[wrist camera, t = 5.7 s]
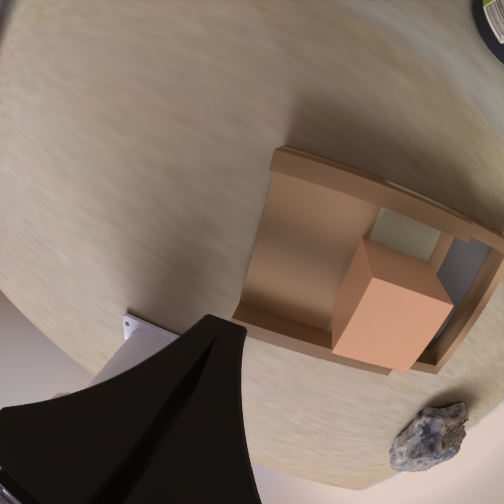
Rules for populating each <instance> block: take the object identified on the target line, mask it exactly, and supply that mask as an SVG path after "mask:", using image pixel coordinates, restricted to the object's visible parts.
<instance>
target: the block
mask: <svg viewBox="0 0 504 504" xmlns="http://www.w3.org/2000/svg"><path fill="white" fill-rule="evenodd" d="M453 306H454V305H453V303H452V301H451V300H450V298H449V296H448V294H447V293H446V291H445V289H444V287H443V286H442V284H441V282H440V281H439V279H438V277H437V276H436V274H435V272H434V271H433V269H432V268H431V266H430V264H429V263H428V262H426V261H423V260H421V259H418V258H416V257H413V256H410V255H408V254H405V253H403V252H400V251H398V250H395V249H392V248H390V247H387V246H384V245H382V244H379V243H376V242H374V241H371V240H368V239H365V238H363V237H362V238H361V240H360V243H359V245H358V247H357V250H356V252H355V254H354V257H353V259H352V261H351V264H350V266H349V268H348V270H347V273H346V275H345V277H344V279H343V282H342V284H341V286H340V288H339V290H338V292H337V294H336V297H335V299H334V301H333V319H332V351H331V353H334V354H337V355H341V356H344V357H348V358H352V359H355V360H359V361H363V362H367V363H370V364H374V365H378V366H382V367H386V368H390V369H395V370H399V371H403V372H407V371H408V370H409V369H410V367H411V366H412V365H413V364H414V362H415V361H416V360H417V358H418V357H419V356H420V354H421V353H422V352H423V350H424V349H425V348H426V346H427V345H428V344H429V342H430V341H431V339H432V338H433V337H434V335H435V334H436V332H437V331H438V329H439V328H440V326H441V325H442V323H443V322H444V320H445V319H446V317H447V316H448V314H449V313H450V311H451V310H452V308H453Z"/></svg>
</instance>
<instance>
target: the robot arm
mask: <svg viewBox="0 0 504 504" xmlns="http://www.w3.org/2000/svg"><path fill="white" fill-rule="evenodd" d="M123 328H124V340H125V342H124V344H123V345H122V346H121V347H120V348H119V350H118V351H117V352H116V353H115V354H114V355H113V357H112V358H111V359H110V360H109V361H108V363H107V364H106V365H105V366H104V367H103V369H102V370H101V371H100V372H99V373H98V375H97V376H96V377H95V378H94V380H93V381H92V382H91V383H90V385H89V386H88V387H87V388H86V389H83V390H80V391H77V392H74V393H69V392H66V393H58V394H56V395H55V396H54V397H53V398H52V399H50V400H46V401H41V402H36V403H30V404H24V405H18V406H11V407H4V408H2V409H1V410H0V504H262V503H261V500H260V497H259V494H258V490H257V486H256V483H255V479H254V475H253V471H252V467H251V463H250V458H249V453H248V448H247V442H246V436H245V429H244V421H243V411H242V395H241V367H242V354H243V346H244V341H245V338H246V335H247V329H246V327H244V326H241V325H238V324H235V323H233V322H230V321H227V320H224V319H221V318H219V317H216V316H213V315H211V314H207V315H205V316H204V317H203V318H202V319H200V320H199V321H198V322H197V323H196V324H195V325H193V326H192V327H191V328H190V329H189V330H187V331H186V332H185V333H183V334H182V335H181V336H179V335H176V334H174V333H171V332H169V331H167V330H164V329H162V328H160V327H157V326H155V325H153V324H150V323H148V322H146V321H144V320H142V319H139V318H137V317H135V316H133V315H131V314H128V313H125V314H124V315H123ZM3 489H4V490H5V491H6V492H7V493H8V494H9V495H10V496H9V495H8V494H6V493H5V492H3ZM12 497H13V498H12Z"/></svg>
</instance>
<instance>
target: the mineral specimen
mask: <svg viewBox="0 0 504 504" xmlns="http://www.w3.org/2000/svg"><path fill="white" fill-rule="evenodd" d="M468 420H469V418H468V411H467V408H466V406H465V404H464V403H463V402H461V403H459V404H454V405H451V406H449V407H447V408H441V409H436V408H432V407H426V408H425V409H424V410H423V412H422V413H419V414H417V415H416V417H415V419H414V421H413V422H412V424H411V425H410V426H409V427H408V428H407V430H405V431H404V432H402V434H401V435H400V436H399V437H397V439H396V440H395V441H394V442H393V445H392V448H391V449H390V450H389V457H390V464H391V468H393V469H394V470H395V471H397V472H400V471H409V472H418V471H425V470H428V469H429V468H431V467H433V466H435V465H437V464H440V463H442V462H444V461H447V460H449V459H451V458H453V456H455V455H457V453H458V452H459V449H460V444H461V443H462V441H463V439H464V438H465V436H466V433H465V430H464V427H465V426H464V425H463V424H464V423H465V422H466V421H468Z"/></svg>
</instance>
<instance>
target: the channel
mask: <svg viewBox="0 0 504 504" xmlns="http://www.w3.org/2000/svg"><path fill="white" fill-rule="evenodd" d="M269 170H271V171H274V172H273V176H272V180H271V183H270V187H269V191H268V195H267V199H266V203H265V207H264V210H263V214H262V218H261V222H260V226H259V230H258V233H257V237H256V241H255V245H254V249H253V253H252V256H251V260H250V264H249V268H248V272H247V276H246V279H245V283H244V287H243V291H242V295H241V299H240V302H239V304H238V306H237V309H236V311H235V313H234V315H233V317H232V319H231V322H233V323H235V324H238V325H241V326H244V327H246V329H247V335H246V336H249V337H252V338H255V339H258V340H261V341H264V342H267V343H270V344H273V345H276V346H279V347H283V348H286V349H289V350H292V351H296V352H299V353H302V354H306V355H309V356H313V357H316V358H320V359H323V360H327V361H331V362H334V363H338V364H342V365H346V366H350V367H353V368H357V369H361V370H366V371H370V372H374V373H378V374H383V375H387V376H388V374H389V373H390V372H391V370H392V369H390V368H386V367H382V366H378V365H374V364H370V363H367V362H363V361H359V360H355V359H352V358H348V357H344V356H341V355H337V354H334V353H331V351H332V319H333V301H334V299H335V297H336V294H337V292H338V290H339V288H340V286H341V284H342V282H343V279H344V277H345V275H346V273H347V270H348V268H349V266H350V264H351V261H352V259H353V257H354V254H355V252H356V250H357V247H358V245H359V243H360V240H361V238H362V237H363V238H365V239H368V240H371V241H374V242H376V243H379V244H382V245H384V246H387V247H390V248H392V249H395V250H398V251H400V252H403V253H405V254H408V255H410V256H413V257H416V258H418V259H421V260H423V261H426V262H428V263H429V264H430V266H431V268H432V269H433V271H434V272H435V274H436V276H437V277H438V279H439V281H440V282H441V284H442V286H443V287H444V289H445V291H446V293H447V294H448V296H449V298H450V300H451V301H452V303H453V305H454V306H453V308H452V310H451V311H450V313H449V314H448V316H447V317H446V319H445V320H444V322H443V323H442V325H441V326H440V328H439V329H438V331H437V332H436V334H435V335H434V337H433V338H432V339H431V341H430V342H429V344H428V345H427V346H426V348H425V349H424V350H423V352H422V353H421V354H420V356H419V357H418V358H417V360H416V361H415V362H414V364H413V365H412V366H411V367H410V369H413V370H417V371H422V372H427V373H432V374H437V373H438V372H439V371H440V369H441V368H442V367H443V366H444V365H445V363H446V362H447V361H448V359H449V358H450V357H451V356H452V354H453V353H454V352H455V350H456V349H457V348H458V346H459V345H460V344H461V342H462V341H463V339H464V338H465V337H466V335H467V334H468V332H469V331H470V329H471V328H472V326H473V325H474V323H475V322H476V320H477V319H478V317H479V316H480V314H481V313H482V311H483V309H484V308H485V306H486V304H487V303H488V301H489V299H490V298H491V296H492V294H493V293H494V291H495V289H496V287H497V285H498V284H499V282H500V280H501V278H502V276H503V274H504V236H503V235H502V234H500V233H498V232H497V231H495V230H493V229H491V228H489V227H488V226H486V225H484V224H482V223H480V222H478V221H476V220H474V219H472V218H471V217H469V216H467V215H465V214H463V213H461V212H459V211H457V210H455V209H452V208H450V207H448V206H446V205H444V204H442V203H440V202H438V201H435V200H433V199H431V198H429V197H427V196H424V195H422V194H420V193H418V192H415V191H413V190H410V189H408V188H406V187H403V186H401V185H398V184H396V183H393V182H391V181H388V180H386V179H383V178H381V177H378V176H376V175H373V174H370V173H367V172H365V171H362V170H359V169H356V168H354V167H351V166H348V165H345V164H342V163H339V162H336V161H333V160H330V159H327V158H324V157H321V156H317V155H314V154H311V153H308V152H304V151H301V150H298V149H294V148H291V147H287V146H282V147H279V148H277V149H275V150H274V154H273V157H272V161H271V165H270V169H269Z"/></svg>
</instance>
